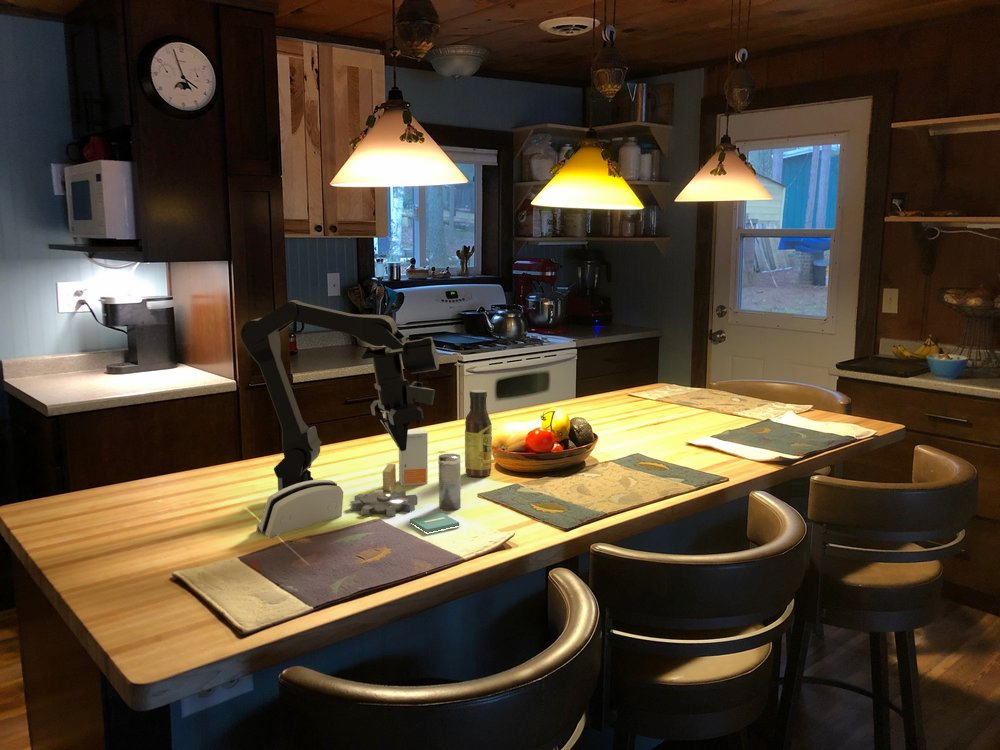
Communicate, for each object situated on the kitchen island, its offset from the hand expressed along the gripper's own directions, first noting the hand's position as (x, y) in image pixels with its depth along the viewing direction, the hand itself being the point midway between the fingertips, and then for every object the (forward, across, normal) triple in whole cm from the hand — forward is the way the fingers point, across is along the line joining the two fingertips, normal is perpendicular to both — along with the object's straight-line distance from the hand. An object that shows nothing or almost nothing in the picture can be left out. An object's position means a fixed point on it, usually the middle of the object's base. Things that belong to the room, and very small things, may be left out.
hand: (403, 450), depth 174 cm
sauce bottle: (+14, +15, -20) cm, 29 cm away
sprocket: (+10, +1, +5) cm, 12 cm away
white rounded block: (+9, -4, +23) cm, 25 cm away
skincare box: (+11, +14, -5) cm, 19 cm away
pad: (+13, -15, 0) cm, 20 cm away
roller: (+13, -6, -6) cm, 15 cm away
